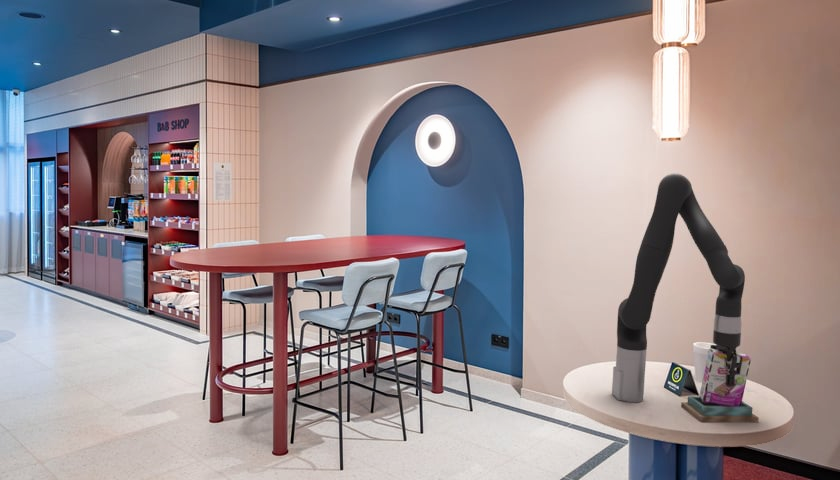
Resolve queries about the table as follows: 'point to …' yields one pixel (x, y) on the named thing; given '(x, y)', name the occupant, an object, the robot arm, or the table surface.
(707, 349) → the foam cup
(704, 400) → the candy bar box
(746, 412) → the display base
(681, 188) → the robot arm
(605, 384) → the table surface
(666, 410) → the table surface
